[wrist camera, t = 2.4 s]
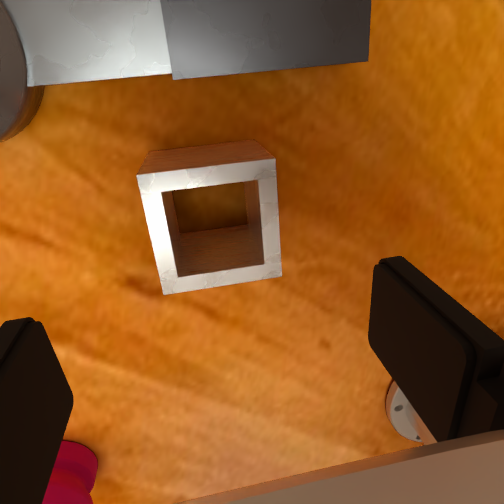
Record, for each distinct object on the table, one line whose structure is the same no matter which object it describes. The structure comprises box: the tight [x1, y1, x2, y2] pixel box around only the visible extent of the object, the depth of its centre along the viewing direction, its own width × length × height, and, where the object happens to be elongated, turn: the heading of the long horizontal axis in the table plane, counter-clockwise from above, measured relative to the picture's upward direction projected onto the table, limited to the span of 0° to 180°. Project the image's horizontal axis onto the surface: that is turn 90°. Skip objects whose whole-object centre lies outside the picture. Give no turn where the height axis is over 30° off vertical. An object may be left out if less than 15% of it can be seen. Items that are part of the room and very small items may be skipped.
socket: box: [136, 139, 282, 295], centre depth 21 cm, size 6×6×6 cm
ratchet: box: [0, 0, 371, 142], centre depth 16 cm, size 26×9×8 cm, turn 95°
